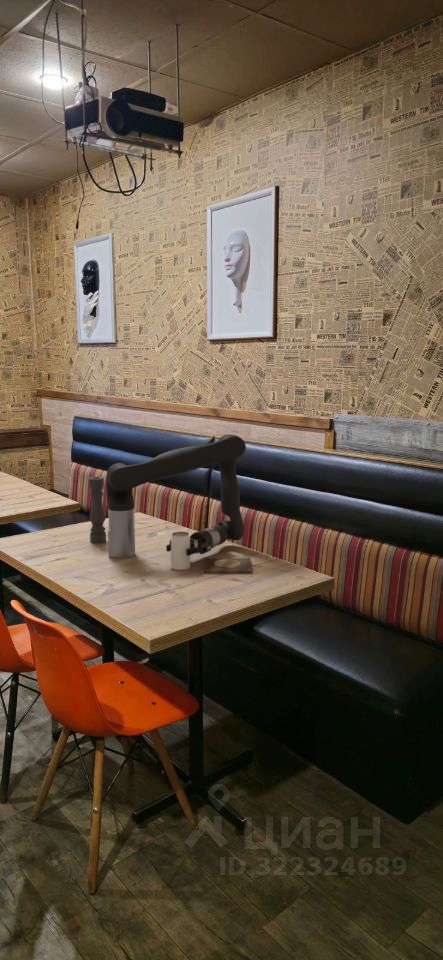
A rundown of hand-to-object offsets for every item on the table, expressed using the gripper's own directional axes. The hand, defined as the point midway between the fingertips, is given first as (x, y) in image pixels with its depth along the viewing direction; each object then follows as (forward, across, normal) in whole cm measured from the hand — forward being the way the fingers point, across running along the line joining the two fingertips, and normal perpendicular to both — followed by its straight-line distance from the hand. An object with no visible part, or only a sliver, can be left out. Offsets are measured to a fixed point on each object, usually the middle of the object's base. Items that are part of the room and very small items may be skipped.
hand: (177, 550), depth 226 cm
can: (-2, 0, +7) cm, 7 cm away
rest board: (-12, +13, +6) cm, 18 cm away
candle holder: (-10, -47, +7) cm, 48 cm away
